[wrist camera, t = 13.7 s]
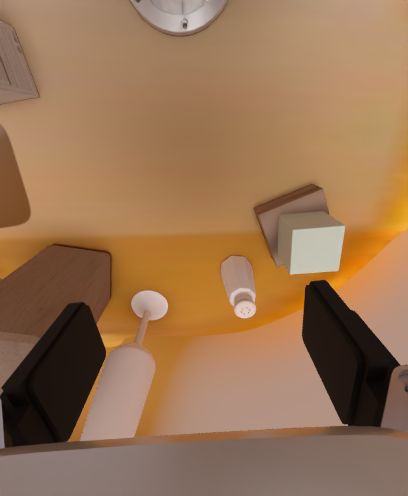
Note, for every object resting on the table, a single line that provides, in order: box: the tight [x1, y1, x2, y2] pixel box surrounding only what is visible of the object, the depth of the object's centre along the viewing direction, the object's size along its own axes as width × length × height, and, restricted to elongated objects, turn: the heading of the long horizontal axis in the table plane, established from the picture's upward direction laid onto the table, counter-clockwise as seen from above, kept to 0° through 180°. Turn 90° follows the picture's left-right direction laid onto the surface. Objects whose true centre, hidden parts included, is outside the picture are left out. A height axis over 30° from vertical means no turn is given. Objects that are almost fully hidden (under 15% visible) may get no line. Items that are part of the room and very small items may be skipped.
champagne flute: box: [80, 291, 168, 441], centre depth 35 cm, size 7×7×24 cm
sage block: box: [278, 211, 345, 274], centre depth 33 cm, size 6×6×6 cm
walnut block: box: [254, 184, 329, 267], centre depth 37 cm, size 9×9×4 cm
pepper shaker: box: [221, 256, 256, 318], centre depth 37 cm, size 5×5×11 cm
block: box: [0, 245, 111, 395], centre depth 34 cm, size 10×10×20 cm
